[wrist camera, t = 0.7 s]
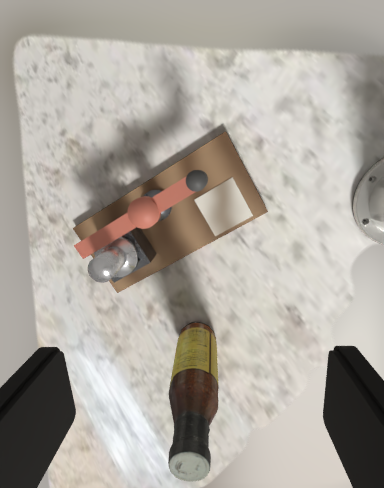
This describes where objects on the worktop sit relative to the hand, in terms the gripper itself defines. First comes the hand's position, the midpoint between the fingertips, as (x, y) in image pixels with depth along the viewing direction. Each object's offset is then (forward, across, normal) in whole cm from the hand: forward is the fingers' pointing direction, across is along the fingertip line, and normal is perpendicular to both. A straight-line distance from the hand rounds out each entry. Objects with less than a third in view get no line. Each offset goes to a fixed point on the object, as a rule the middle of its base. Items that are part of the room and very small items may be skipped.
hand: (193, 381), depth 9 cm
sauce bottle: (+31, +2, +20) cm, 37 cm away
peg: (+30, +12, +3) cm, 32 cm away
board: (+31, +6, -1) cm, 31 cm away
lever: (+24, +8, -2) cm, 25 cm away
